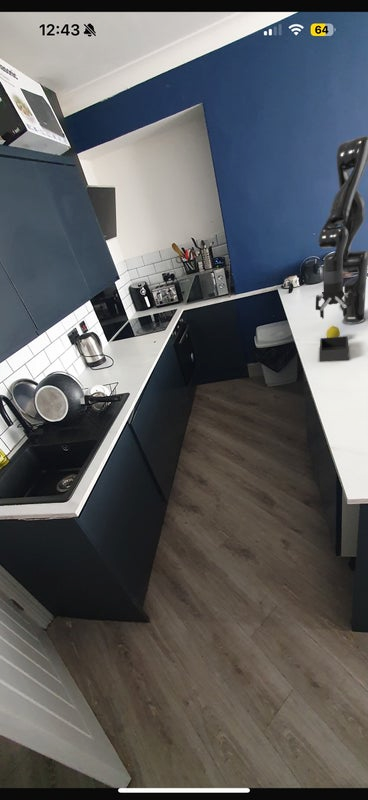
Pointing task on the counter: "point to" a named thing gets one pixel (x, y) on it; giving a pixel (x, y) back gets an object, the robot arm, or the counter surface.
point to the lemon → (333, 332)
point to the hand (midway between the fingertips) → (333, 316)
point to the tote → (334, 349)
